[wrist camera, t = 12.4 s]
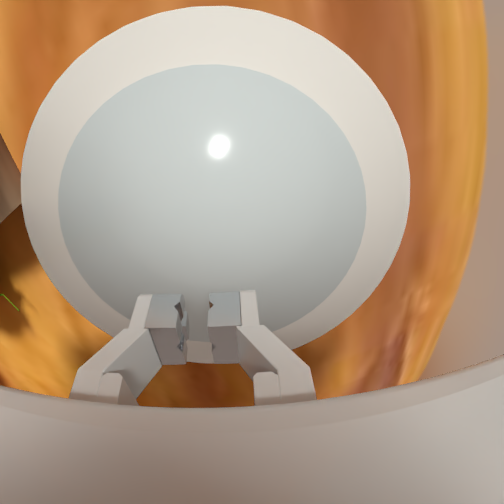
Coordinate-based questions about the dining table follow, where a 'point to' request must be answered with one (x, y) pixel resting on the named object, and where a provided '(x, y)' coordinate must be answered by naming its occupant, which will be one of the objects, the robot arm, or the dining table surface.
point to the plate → (216, 174)
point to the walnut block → (8, 182)
